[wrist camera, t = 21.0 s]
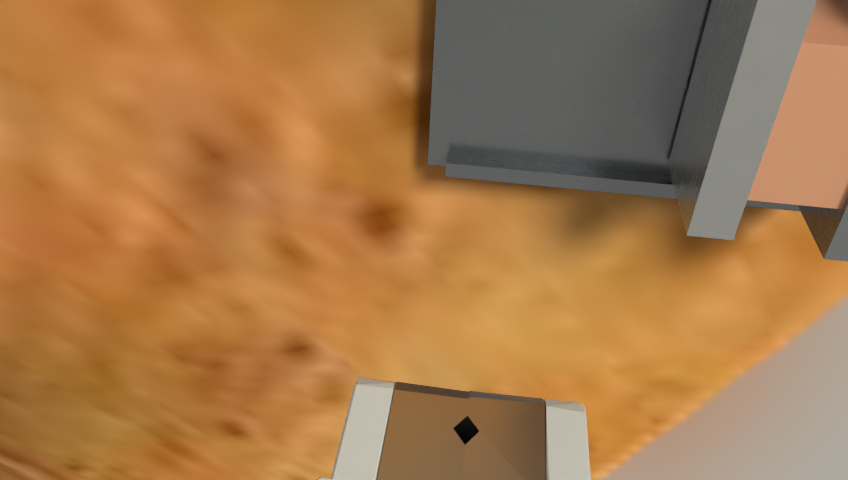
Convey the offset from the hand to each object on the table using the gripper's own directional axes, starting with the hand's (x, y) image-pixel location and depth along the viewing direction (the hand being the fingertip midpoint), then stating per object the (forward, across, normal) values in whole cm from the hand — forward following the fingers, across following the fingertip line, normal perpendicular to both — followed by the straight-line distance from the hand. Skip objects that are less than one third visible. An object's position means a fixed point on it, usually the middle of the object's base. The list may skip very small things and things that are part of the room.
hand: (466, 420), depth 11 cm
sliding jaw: (+28, -10, +6) cm, 30 cm away
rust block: (+28, -13, +6) cm, 31 cm away
